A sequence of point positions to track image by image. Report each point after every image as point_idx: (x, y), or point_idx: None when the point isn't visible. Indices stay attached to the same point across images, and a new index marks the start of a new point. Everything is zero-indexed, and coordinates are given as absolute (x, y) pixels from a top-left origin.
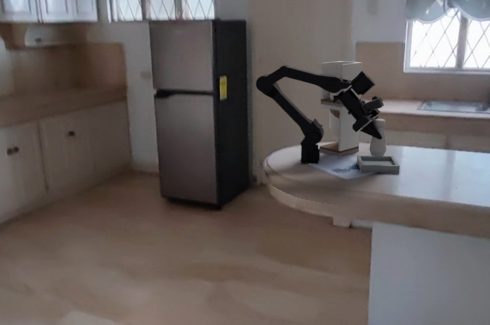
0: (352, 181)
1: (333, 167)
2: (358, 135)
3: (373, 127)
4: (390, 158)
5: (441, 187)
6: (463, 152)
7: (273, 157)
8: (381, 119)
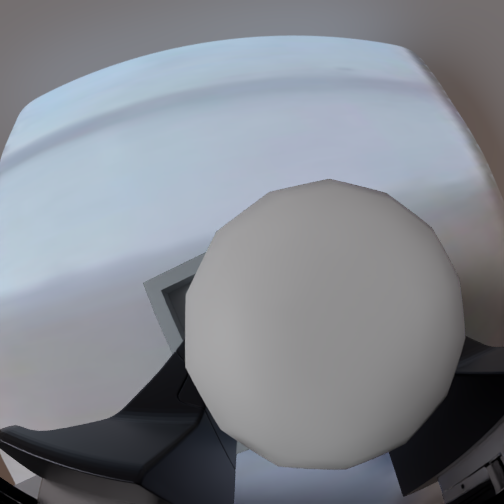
0: (480, 331)
1: (365, 481)
2: (31, 483)
3: (467, 350)
4: (164, 293)
5: (366, 91)
6: (11, 140)
7: None
8: (352, 270)
